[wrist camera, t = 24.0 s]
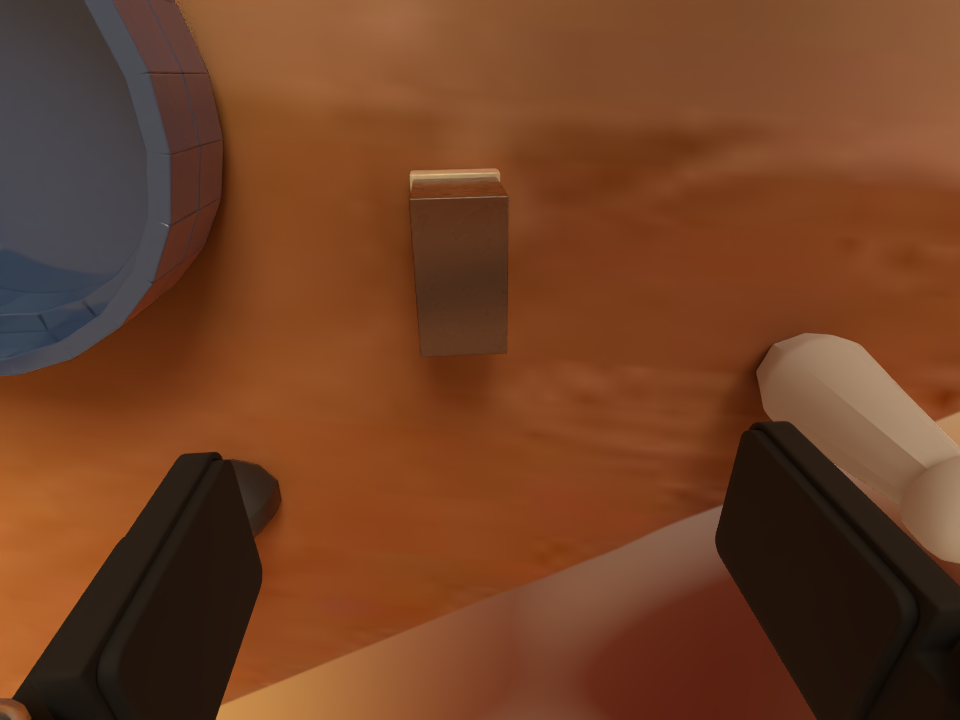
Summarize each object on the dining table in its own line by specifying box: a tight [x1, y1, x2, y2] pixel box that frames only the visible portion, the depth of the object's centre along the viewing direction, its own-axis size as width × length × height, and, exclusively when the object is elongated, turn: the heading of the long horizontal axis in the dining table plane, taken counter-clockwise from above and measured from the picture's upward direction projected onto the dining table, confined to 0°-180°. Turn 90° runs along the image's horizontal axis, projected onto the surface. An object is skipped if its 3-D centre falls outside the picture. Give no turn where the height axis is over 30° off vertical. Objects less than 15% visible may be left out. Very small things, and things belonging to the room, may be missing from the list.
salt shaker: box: [756, 333, 960, 563], centre depth 25 cm, size 6×6×13 cm
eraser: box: [409, 168, 509, 357], centre depth 24 cm, size 7×4×6 cm, turn 1°
